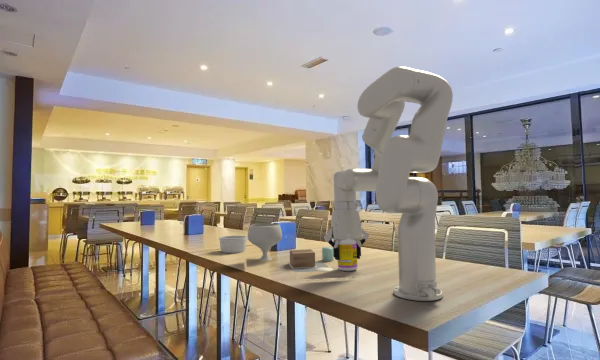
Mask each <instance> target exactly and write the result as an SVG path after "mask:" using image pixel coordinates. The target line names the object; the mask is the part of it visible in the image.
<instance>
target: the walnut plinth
mask: <svg viewBox="0 0 600 360" xmlns="http://www.w3.org/2000/svg"><path fill="white" fill-rule="evenodd" d="M315 262H316V252H315V251H314V250H313V249H311V248H310V249H309V248H308V249H307V248H306V249H305V248H304V249H303V248H302V249H289V263H290V264H291V266H292V267H293V268H300V267H315ZM291 266H290V267H291Z"/></svg>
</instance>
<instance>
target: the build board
mask: <svg viewBox="0 0 600 360" xmlns="http://www.w3.org/2000/svg"><path fill="white" fill-rule="evenodd" d="M288 265H289V267H291V269H292V270H293V272H294V273H312V272H320V273H321V272H322V273H325V272H326V273H327V272H332V271H334V268H332V267H329V266H328V265H326V263H324V261H315V267H300V268H293V267H292V266H291V264H290V262H288Z"/></svg>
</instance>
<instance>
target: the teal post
mask: <svg viewBox="0 0 600 360" xmlns="http://www.w3.org/2000/svg"><path fill="white" fill-rule="evenodd" d="M321 258H322V262H333V261H334V256H333V247H332V246H324V247H323V246H322V248H321Z"/></svg>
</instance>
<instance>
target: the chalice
mask: <svg viewBox="0 0 600 360" xmlns="http://www.w3.org/2000/svg"><path fill="white" fill-rule="evenodd" d="M282 239H283V231H282V228H281V225H280V224H279V223H253V224H250V226H249V227H248V231H247V240H248V241H249V243H251V244H252V245H254V246H255V247H257V248H259V249H260V250H261V252H262V255H261V257H260V258H257V260H258V261H265V262H266V261H272V260H273V258H272V257H269V256H268V255H269V254H268V252H269V250H270V249H271V248H272V247H274V246H275V245H276V244H278V243H280V242H281V240H282Z"/></svg>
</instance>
